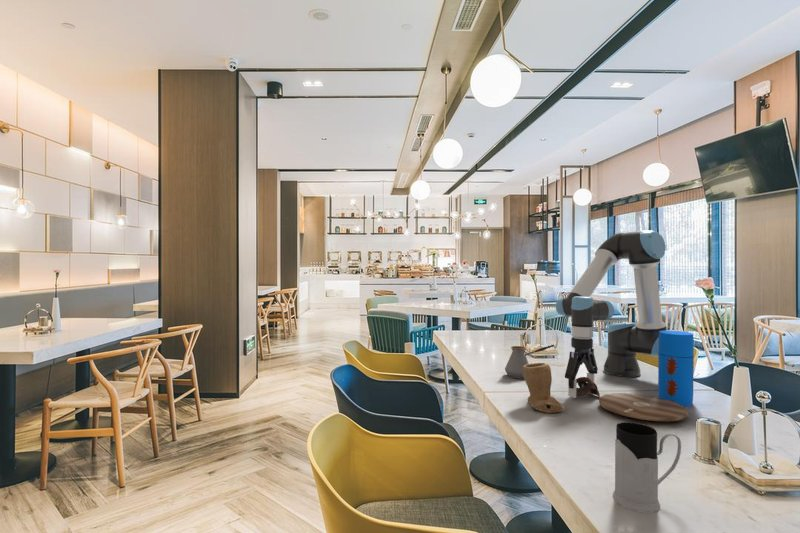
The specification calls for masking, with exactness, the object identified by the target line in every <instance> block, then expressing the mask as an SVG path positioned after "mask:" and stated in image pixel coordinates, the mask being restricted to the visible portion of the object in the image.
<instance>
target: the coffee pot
mask: <svg viewBox="0 0 800 533" xmlns="http://www.w3.org/2000/svg"><path fill="white" fill-rule="evenodd" d="M510 348H511V350H512V351H511V354H510V356H509V359H508V361H507V363H506V366H505V367H504V370H505V373H506V374H507V375H508V376H509V377H511V378H514V379H524V375H523V366H524V365H526V364H530V363H529V361H528V357H527V356H529V355H532V354H535V353H539V352H542V351H545V350H548V349H551V348H554V349H556V347H555V344H551V345H548V346H542V347H540V348H538V349H536V350H532V351H530V352H526V353H525V350H526V349H527V348H526V346H522V345H521V346H520V345H513V346H512V345H511V347H510Z"/></svg>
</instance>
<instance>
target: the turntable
mask: <svg viewBox="0 0 800 533" xmlns="http://www.w3.org/2000/svg"><path fill="white" fill-rule="evenodd" d="M598 403H599V405H600V406H601V407H602V408H603V409H605V410H607V411H609V412H611V413H613V414H616V415H620V416H624V417H629V418H633V419H638V420H643V421H644V420H646V421H650V422H651V421H652V422H653V421H654V422H676V421H682V420H685V419H687V418H688V416H689V410H688V409H687V408H686V406H681V405H680V404H677V403H675V402H672V401H669V400H666V399H662V398H659V396H658V397H657V396H652V395H646V394H639V393H626V392H625V393H624V392H614V393H607V394H604V395H601V396H600V398H599V397H598Z"/></svg>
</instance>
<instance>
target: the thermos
mask: <svg viewBox="0 0 800 533" xmlns="http://www.w3.org/2000/svg"><path fill="white" fill-rule="evenodd" d="M694 340H695V339H694V334H693V332H689V331H688V332H687V331H682V330H680V331H679V330H669V331H659V350H658V356H657V358H658V359H657V361H658V362H657V363H658V364H657V365H658V368H657V369H658V372H657V374H658V375H657V376H658V378H657V381H658V382H657V383H658V384H657V390H658V392H657V394H658V398H662V399H666V400H669V401H672V402H675V403H677V404H680V405H681V406H683V407H691V406H692V405H693V402H694V364H695V363H694V362H695V360H694V358H695V357H694V354H695V353H694V351H695V350H694V349H695V346H694V344H695V341H694Z"/></svg>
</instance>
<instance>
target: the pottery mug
mask: <svg viewBox="0 0 800 533" xmlns="http://www.w3.org/2000/svg"><path fill="white" fill-rule="evenodd" d="M575 380H576V384H577V385H578V387H576V396H582V395H586V394H588V395H595V396H597V397H598V399H599V398H600V397H601V396H600V391H599V390H598V389H599V388H598V386H597V384H596V382H595V381H594V382H593V381H591V380H590V379H589V378H587V376H580V377H577V378H575ZM587 382H588V383H587Z"/></svg>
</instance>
